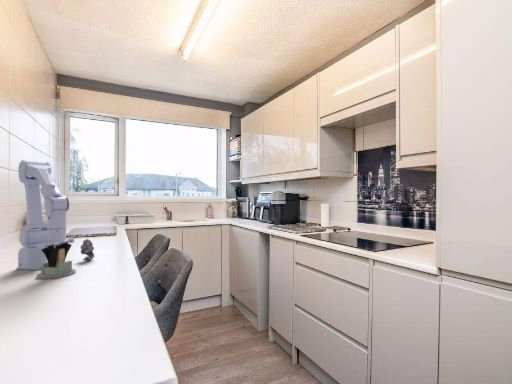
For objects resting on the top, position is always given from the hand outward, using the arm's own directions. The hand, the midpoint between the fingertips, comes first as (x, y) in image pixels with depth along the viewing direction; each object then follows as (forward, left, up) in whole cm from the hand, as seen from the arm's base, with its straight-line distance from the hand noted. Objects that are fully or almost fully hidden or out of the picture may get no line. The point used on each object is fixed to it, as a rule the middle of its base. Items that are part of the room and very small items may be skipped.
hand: (56, 264), depth 106 cm
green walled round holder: (0, 0, -4) cm, 4 cm away
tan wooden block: (0, 0, -3) cm, 3 cm away
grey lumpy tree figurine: (-5, +22, -4) cm, 23 cm away
